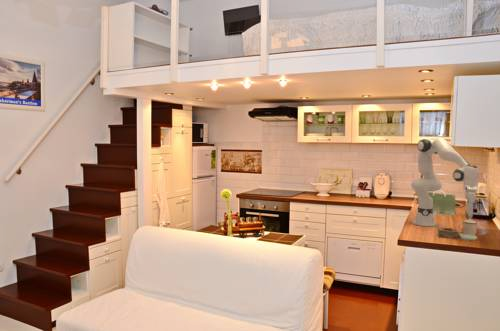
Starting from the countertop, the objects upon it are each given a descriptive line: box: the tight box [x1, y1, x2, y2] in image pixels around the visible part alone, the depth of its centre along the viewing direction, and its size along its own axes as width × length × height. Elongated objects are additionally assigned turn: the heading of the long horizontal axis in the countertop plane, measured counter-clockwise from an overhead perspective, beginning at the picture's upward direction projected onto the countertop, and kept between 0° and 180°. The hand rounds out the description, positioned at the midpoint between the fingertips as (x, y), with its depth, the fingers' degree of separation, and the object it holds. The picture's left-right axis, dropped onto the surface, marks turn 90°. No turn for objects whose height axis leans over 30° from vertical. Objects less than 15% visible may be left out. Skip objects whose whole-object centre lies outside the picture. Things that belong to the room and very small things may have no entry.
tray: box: [458, 232, 478, 242], centre depth 278 cm, size 12×10×2 cm
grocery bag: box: [428, 189, 457, 216], centre depth 374 cm, size 32×14×23 cm, turn 72°
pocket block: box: [437, 226, 459, 240], centre depth 282 cm, size 12×12×5 cm
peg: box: [464, 201, 474, 219], centre depth 276 cm, size 4×4×11 cm
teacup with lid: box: [458, 218, 477, 236], centre depth 293 cm, size 12×9×12 cm
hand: (469, 206), depth 276 cm, fingers closed on peg, 4 cm apart
